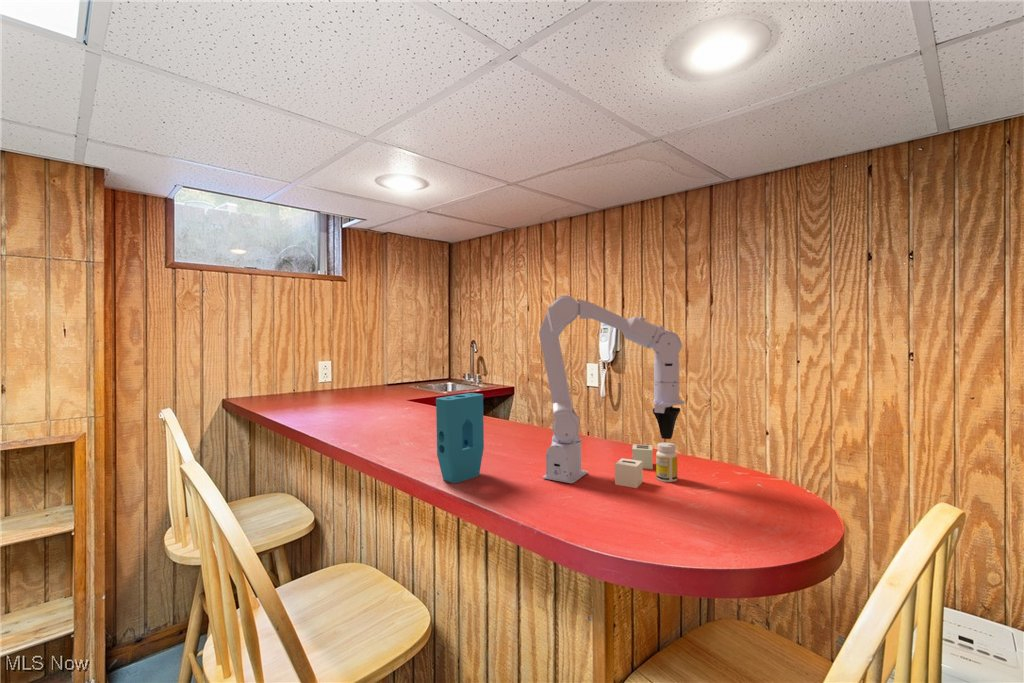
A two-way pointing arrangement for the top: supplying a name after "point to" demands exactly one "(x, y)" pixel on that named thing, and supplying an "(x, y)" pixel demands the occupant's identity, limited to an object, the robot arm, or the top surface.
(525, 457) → the top surface
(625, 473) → the numbered block one
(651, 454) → the numbered block two
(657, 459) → the supplement bottle
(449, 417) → the block
